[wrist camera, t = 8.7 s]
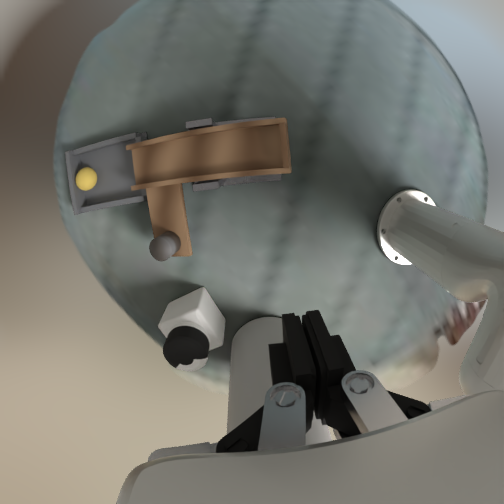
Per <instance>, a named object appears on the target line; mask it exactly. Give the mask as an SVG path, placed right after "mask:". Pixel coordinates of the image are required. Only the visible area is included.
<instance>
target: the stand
mask: <svg viewBox="0 0 504 504" xmlns="http://www.w3.org/2000/svg"><path fill="white" fill-rule="evenodd" d="M275 118H276V117H263V118H251V119H240V120H231V121H223V122H214V120H213V119H212V118H207V119H201V120H194V121H188V122H186V129H188V131H190V130H196V129H201V128H207V127H213V126H219V125H225V124H232V123H239V122H247V121H255V120H265V119H275ZM278 180H282V179H281V174H269V175H256V176H244V177H233V178H222V179H213V180H204V181H196V182H194V184H193V192H194V191H202V190H210V189H218V188H220V187H221V186H226V185H235V184H245V183H255V182H266V181H278Z"/></svg>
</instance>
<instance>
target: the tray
mask: <svg viewBox="0 0 504 504" xmlns="http://www.w3.org/2000/svg"><path fill="white" fill-rule="evenodd" d="M146 140H147V132H144V133H136V132H135V133H131V134H127V135H123V136H119V137H115V138H111V139H108V140H104V141H101V142H98V143H94V144H91V145H88V146H85V147H81V148H78V149H75V150H72V151H66V152H65V156H66V165H67V174H68V181H69V188H70V194H71V200H72V205H73V211H74V215H78V214H80V213H84V212H89V211H93V210H98V209H104V208H109V207H114V206H119V205H125V204H131V203H136V202H142V201H146V200H147V193H146V189H139V190H133V191H132V190H131V186H134V185H136V181H135V174H134V166H133V158H132V150H126V146H127V145H130V144H134V143H138V142H142V141H146ZM86 167H89V168H92V169H93V170H94V171H95V172H96V174H97V182H96V184H95V186H94V187H93V188H92V189H90V190H87V191H84V190H81V189H79V188H78V186H77V185H76V175H77V173H78V172H79V171H80V170H81V169H83V168H86Z"/></svg>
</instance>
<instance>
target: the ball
mask: <svg viewBox="0 0 504 504" xmlns="http://www.w3.org/2000/svg"><path fill="white" fill-rule="evenodd" d="M96 182H97V174H96V172H95V171H94V170H93V169H92V168H89V167H86V168H83V169H81V170H80V171H79V172H78V173H77V175H76V185H77V186H78V188H79V189H81V190H84V191H87V190H90V189H92V188H93V187H94V186H95V184H96Z"/></svg>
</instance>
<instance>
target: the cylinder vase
mask: <svg viewBox="0 0 504 504" xmlns="http://www.w3.org/2000/svg"><path fill="white" fill-rule="evenodd" d="M274 343H283V329H282V319H281V318H277V317H263V318H258V319H255V320H252V321H250V322H248V323H246V324H245V325H243V326H242V327H241V328H240V329H239V330H238V331H237V333H236V334H235V336H234V338H233V341H232V347H231V364H230V382H229V402H228V422H227V434H228V433H230V432H231V431H232V430H233V429H235V428H236V427H237V426H239V425H240V424H241V423H242V422H244V421H245V420H246V419H247V418H249V417H250V416H251V415H252V414H253V413H255V412H256V411H257V410H258V409H259V408H261V407H262V406H263V405H264V402H265V395H266V393H267V391H268V390H269V388H270V387H272V378H271V369H270V358H269V346H268V344H274ZM328 441H332V439H331V435H330V431H329V427H328V425H322V423H321V419H316V417H315V413H314V415H313V420H312V426H311V429H310V430H309V431H308V432H307V433H306V445H312V444H317V443H323V442H328Z"/></svg>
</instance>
